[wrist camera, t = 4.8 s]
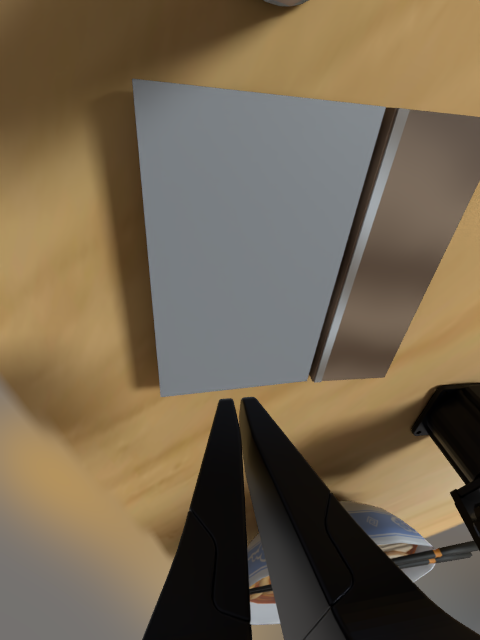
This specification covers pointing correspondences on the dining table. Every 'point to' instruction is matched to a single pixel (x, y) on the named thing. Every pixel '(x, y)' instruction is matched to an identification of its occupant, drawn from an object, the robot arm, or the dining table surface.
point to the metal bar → (397, 238)
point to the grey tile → (245, 227)
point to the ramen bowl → (383, 530)
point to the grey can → (286, 2)
